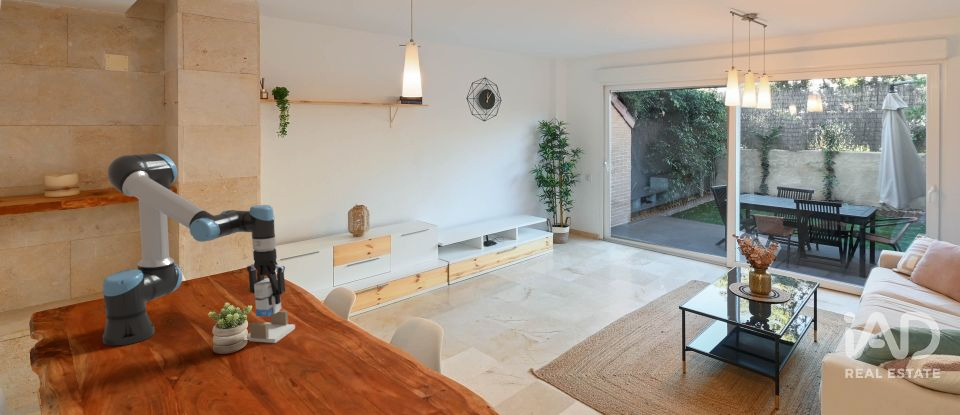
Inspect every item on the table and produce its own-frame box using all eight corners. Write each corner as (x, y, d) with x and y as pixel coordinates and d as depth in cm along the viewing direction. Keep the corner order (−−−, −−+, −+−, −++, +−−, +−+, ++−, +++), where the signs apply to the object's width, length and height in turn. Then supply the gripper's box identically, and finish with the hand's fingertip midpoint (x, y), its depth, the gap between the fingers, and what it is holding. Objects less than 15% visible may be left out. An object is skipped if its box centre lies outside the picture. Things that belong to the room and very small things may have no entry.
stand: (243, 341, 175) (241, 323, 174) (266, 325, 188) (265, 309, 187) (274, 343, 173) (273, 326, 172) (295, 327, 186) (294, 311, 185)
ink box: (268, 317, 175) (265, 285, 173) (255, 316, 175) (253, 284, 174) (282, 308, 183) (280, 277, 181) (270, 307, 184) (268, 277, 182)
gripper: (234, 250, 173) (240, 314, 177) (281, 252, 170) (286, 317, 174) (248, 245, 181) (253, 306, 184) (293, 247, 178) (297, 309, 181)
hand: (269, 311), depth 179 cm, fingers closed on ink box, 5 cm apart
